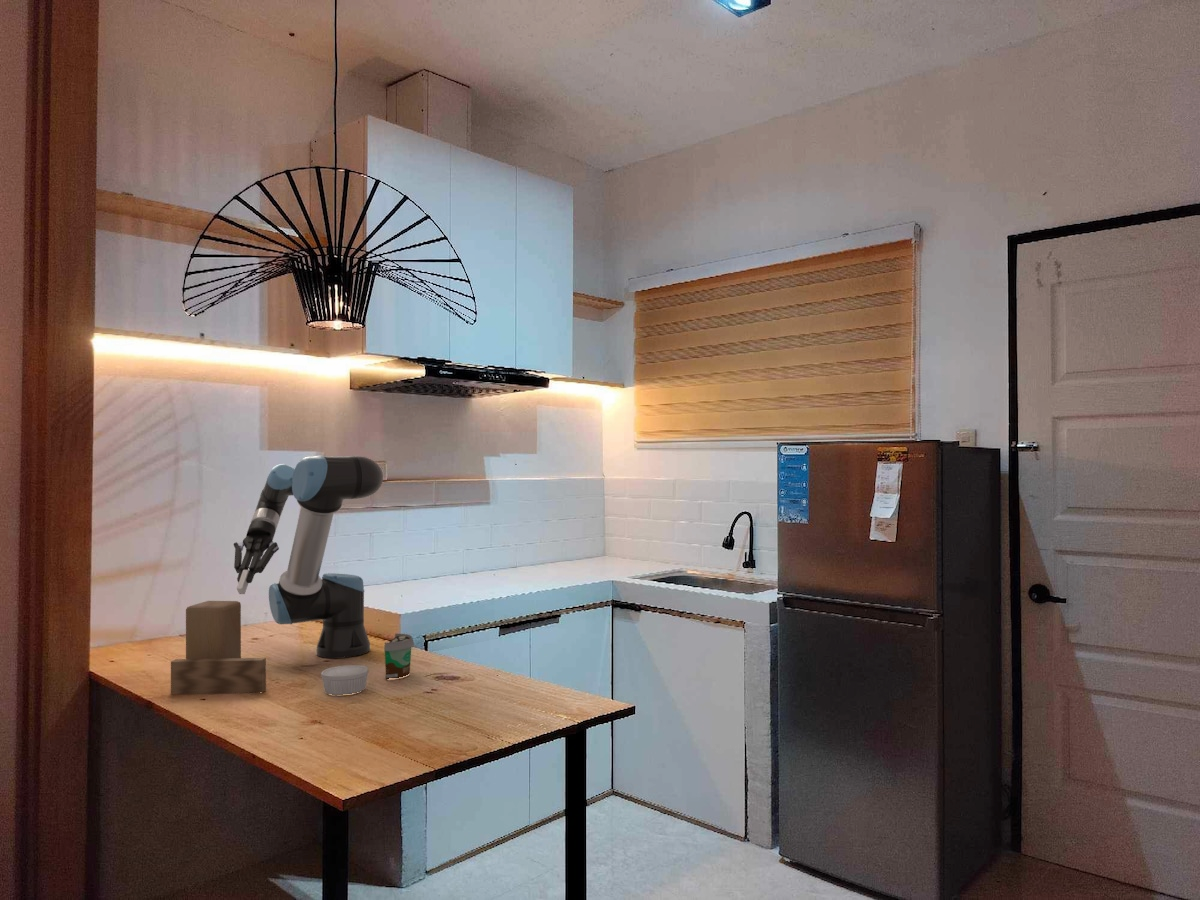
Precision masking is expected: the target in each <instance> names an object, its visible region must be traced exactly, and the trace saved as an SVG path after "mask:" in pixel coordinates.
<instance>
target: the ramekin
mask: <svg viewBox="0 0 1200 900" xmlns="http://www.w3.org/2000/svg"><path fill="white" fill-rule="evenodd" d="M369 672H370V669H369V667H367V666H365V665H361V664H353V665H352V664H348V665H346V664H345V665H338V666H332V667H329V668H326V669H324V670H322V671H320V678H321V679H322V685H323V690H324V692H325V694H326V693H327V694H326V695H328V694H332V695H343V694H352V693H357V692H360V691H362V690H363V691H365V689H366V687H367V681H368V674H370V673H369ZM363 691H362V692H363Z"/></svg>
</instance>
